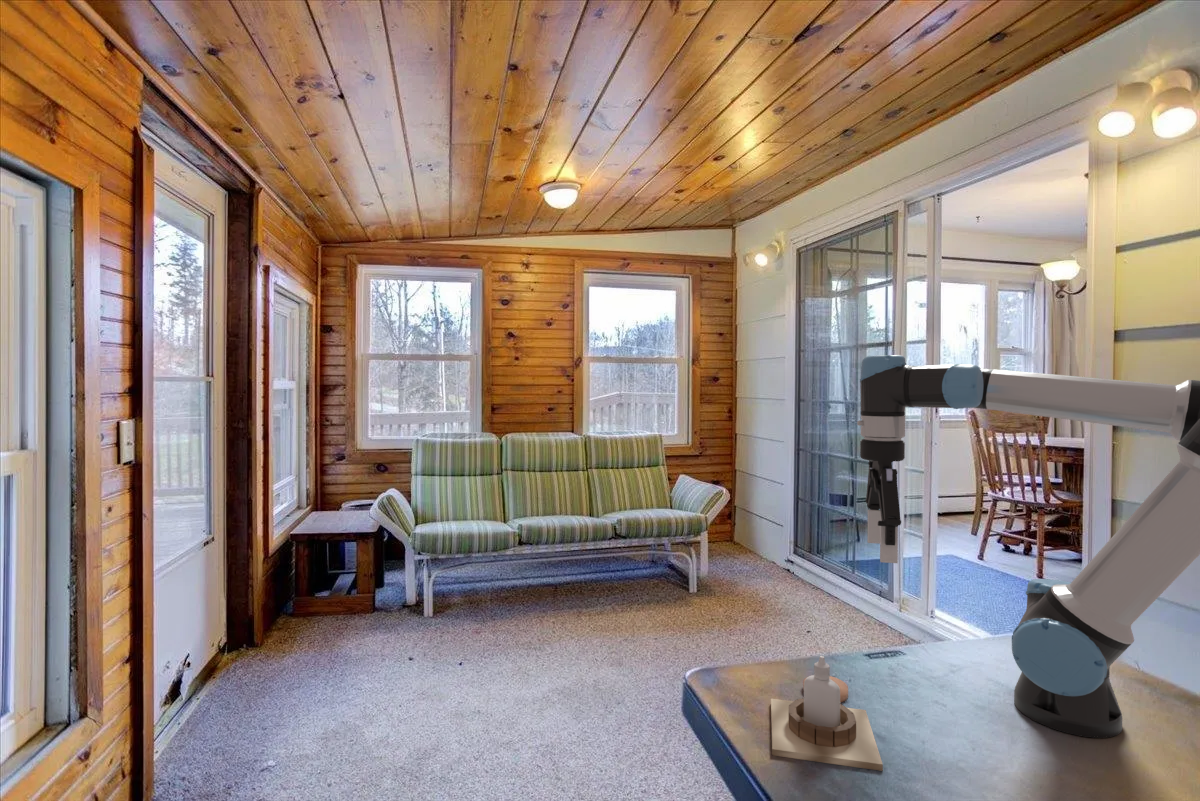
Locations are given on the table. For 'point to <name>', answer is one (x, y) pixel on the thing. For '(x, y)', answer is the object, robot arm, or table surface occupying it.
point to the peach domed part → (841, 685)
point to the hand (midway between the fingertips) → (881, 552)
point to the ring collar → (824, 737)
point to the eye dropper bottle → (821, 697)
